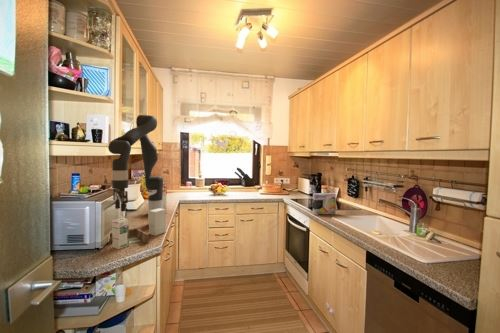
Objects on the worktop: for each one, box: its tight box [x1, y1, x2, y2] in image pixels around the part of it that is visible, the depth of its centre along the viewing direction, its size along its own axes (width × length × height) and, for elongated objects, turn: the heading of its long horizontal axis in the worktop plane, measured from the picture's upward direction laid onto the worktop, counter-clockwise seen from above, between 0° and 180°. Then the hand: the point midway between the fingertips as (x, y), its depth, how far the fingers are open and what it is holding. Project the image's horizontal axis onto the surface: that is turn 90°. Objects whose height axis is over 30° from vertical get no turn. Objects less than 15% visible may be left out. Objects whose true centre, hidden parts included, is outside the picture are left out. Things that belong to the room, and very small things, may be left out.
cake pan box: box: [312, 192, 337, 216], centre depth 218 cm, size 19×5×18 cm, turn 94°
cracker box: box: [147, 187, 167, 211], centre depth 211 cm, size 14×6×21 cm, turn 66°
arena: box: [107, 227, 150, 245], centre depth 144 cm, size 16×16×5 cm
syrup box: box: [111, 217, 130, 250], centre depth 138 cm, size 6×6×14 cm
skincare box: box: [148, 208, 167, 237], centre depth 161 cm, size 8×6×15 cm
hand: (120, 209), depth 137 cm, fingers open, 8 cm apart
